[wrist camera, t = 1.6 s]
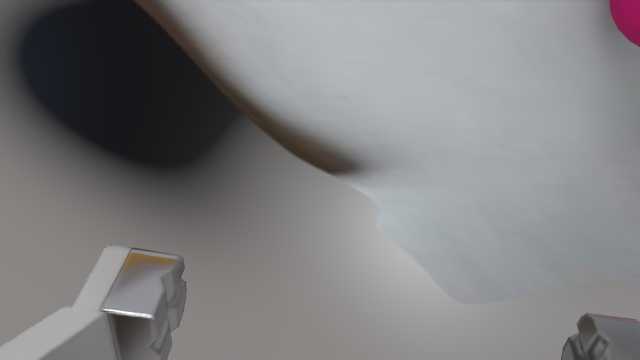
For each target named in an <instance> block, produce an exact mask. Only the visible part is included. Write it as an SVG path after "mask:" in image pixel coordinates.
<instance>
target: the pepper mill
mask: <svg viewBox="0 0 640 360" xmlns="http://www.w3.org/2000/svg"><path fill="white" fill-rule="evenodd" d="M610 12H611V15H612V18H613V20H614V22H615V24H616V26H617V27H618V29H619V30H620V31H621V32H622V34H623V35H624V36H625V37H626V38H627V39H628V40H629V41H631V42H632V43H634V44H635V45H637V46H639V47H640V0H610Z"/></svg>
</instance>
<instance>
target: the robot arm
mask: <svg viewBox="0 0 640 360" xmlns="http://www.w3.org/2000/svg"><path fill="white" fill-rule="evenodd" d="M184 268H185V266H184V258H183V256H180V255H173V254H168V253H161V252H156V251H150V250H144V249H138V248H131V247H125V246H118V245H112V244H109V245H108V246H107V247H106V248H105V249H104V250H103V251H102V253H101V255H100V257H99V258H98V260H97V262H96V264H95V265H94V267H93V269H92V271H91V273H90V275H89V276H88V278H87V280H86V282H85V283H84V286H83V287H82V289H81V291H80V292H79V294H78V296H77V298H76V300H75V302H74V303H73V305H72V307H69V306H63V307H62V308H60V309H59V310H57V311H56V312H54V313H52V314H51V315H49V316H48V317H46V318H45V319H43V320H42V321H40V322H38V323H37V324H35V325H34V326H32V327H30V328H29V329H27V330H26V331H24V332H23V333H21V334H20V335H18V336H16V337H15V338H13V339H12V340H10V341H9V342H7V343H5V344H4V345H2V346H1V347H0V360H167V358H168V355H169V352H170V349H171V347H172V339H171V332H172V331H173V330H175V329H176V328H178V327H179V325H180V321H181V319H182V316H183V312H184V307H185V302H186V291H187V290H186V282H185V281H184V280H183V279H182V278H181V277H182V274H183V271H184ZM577 327H578V330H579V333H577V334H575V335H573V336H570V337H568V339H567V341H566V343H565V345H564V347H563V350H562V356H561V360H640V320H635V319H629V318H621V317H613V316H606V315H598V314H591V313H586V314H585V315H583V316H582V317H581V318H580V320H579V321H578V323H577Z"/></svg>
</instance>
